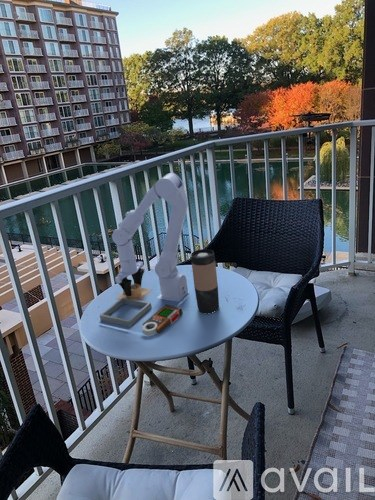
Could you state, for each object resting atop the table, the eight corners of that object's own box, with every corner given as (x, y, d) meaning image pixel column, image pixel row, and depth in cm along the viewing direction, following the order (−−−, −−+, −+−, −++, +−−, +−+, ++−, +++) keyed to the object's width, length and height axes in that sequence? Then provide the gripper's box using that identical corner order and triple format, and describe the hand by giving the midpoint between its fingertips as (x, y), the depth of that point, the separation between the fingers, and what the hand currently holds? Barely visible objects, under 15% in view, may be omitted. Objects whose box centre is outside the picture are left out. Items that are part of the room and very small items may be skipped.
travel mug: (224, 306, 123) (219, 251, 116) (210, 316, 118) (203, 260, 111) (207, 300, 128) (201, 247, 121) (192, 310, 123) (185, 255, 116)
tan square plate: (152, 291, 140) (151, 281, 138) (137, 304, 132) (135, 293, 130) (131, 287, 145) (129, 278, 143) (115, 299, 137) (113, 290, 135)
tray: (151, 308, 127) (150, 302, 126) (130, 328, 117) (129, 321, 116) (123, 303, 133) (122, 297, 132) (101, 321, 123) (99, 315, 122)
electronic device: (137, 327, 114) (166, 302, 124) (139, 335, 115) (167, 309, 126) (154, 332, 110) (182, 306, 121) (155, 340, 111) (183, 314, 122)
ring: (144, 291, 139) (143, 284, 138) (135, 298, 134) (134, 291, 133) (129, 289, 142) (127, 282, 141) (120, 295, 138) (118, 288, 137)
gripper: (130, 250, 140) (136, 281, 145) (105, 265, 129) (113, 299, 134) (145, 251, 137) (151, 284, 142) (121, 267, 125) (128, 302, 130)
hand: (133, 291), depth 138 cm, fingers closed on ring, 5 cm apart
